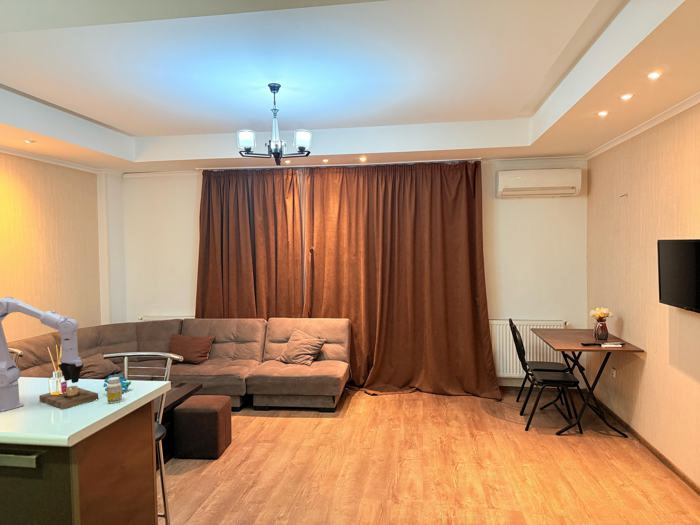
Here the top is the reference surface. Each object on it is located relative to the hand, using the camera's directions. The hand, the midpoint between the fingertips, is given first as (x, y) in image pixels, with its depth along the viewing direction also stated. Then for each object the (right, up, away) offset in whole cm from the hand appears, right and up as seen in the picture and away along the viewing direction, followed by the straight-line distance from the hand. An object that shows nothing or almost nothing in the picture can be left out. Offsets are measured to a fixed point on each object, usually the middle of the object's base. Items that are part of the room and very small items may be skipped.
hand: (71, 381), depth 197 cm
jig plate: (-2, -8, +2) cm, 9 cm away
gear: (+14, -8, +11) cm, 19 cm away
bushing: (0, -8, 0) cm, 8 cm away
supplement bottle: (+19, -8, -1) cm, 20 cm away
